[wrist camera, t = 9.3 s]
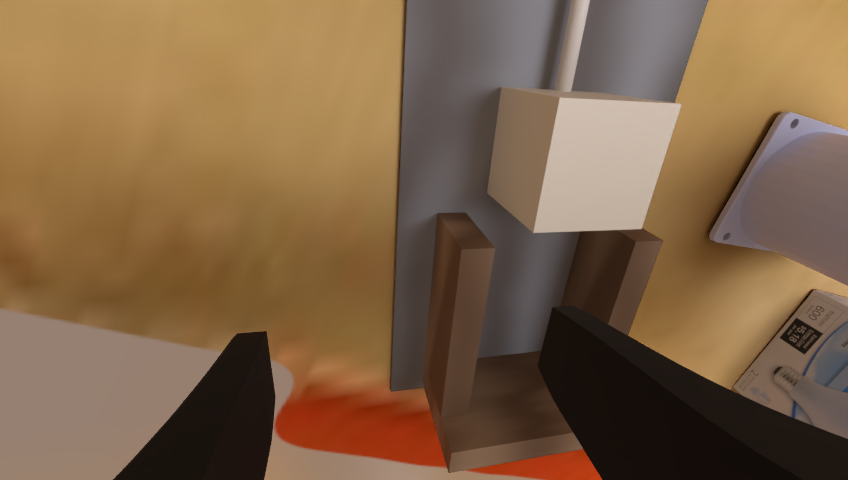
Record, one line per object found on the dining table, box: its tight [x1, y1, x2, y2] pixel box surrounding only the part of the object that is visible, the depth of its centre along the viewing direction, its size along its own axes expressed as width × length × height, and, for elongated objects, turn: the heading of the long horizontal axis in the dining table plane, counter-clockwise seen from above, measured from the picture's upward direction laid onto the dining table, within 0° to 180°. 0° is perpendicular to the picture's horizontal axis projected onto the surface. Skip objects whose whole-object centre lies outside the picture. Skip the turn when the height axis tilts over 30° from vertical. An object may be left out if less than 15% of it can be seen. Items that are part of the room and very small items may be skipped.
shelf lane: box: [391, 0, 708, 473], centre depth 18 cm, size 14×25×6 cm, turn 176°
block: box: [487, 0, 682, 233], centre depth 14 cm, size 5×15×6 cm, turn 176°
